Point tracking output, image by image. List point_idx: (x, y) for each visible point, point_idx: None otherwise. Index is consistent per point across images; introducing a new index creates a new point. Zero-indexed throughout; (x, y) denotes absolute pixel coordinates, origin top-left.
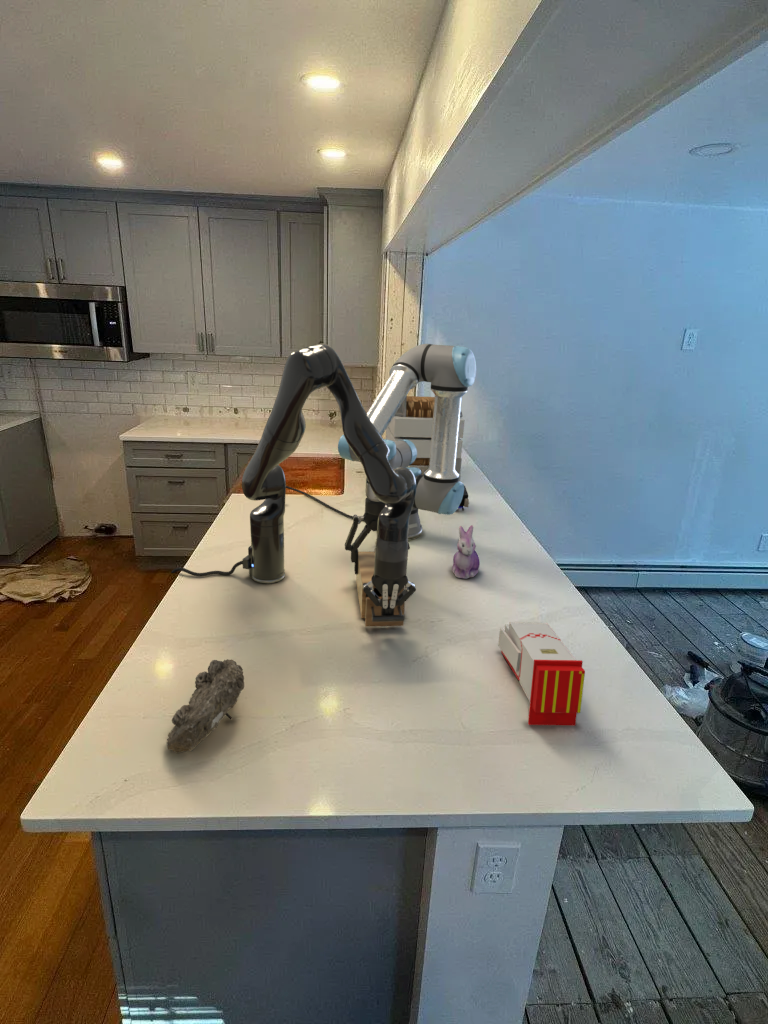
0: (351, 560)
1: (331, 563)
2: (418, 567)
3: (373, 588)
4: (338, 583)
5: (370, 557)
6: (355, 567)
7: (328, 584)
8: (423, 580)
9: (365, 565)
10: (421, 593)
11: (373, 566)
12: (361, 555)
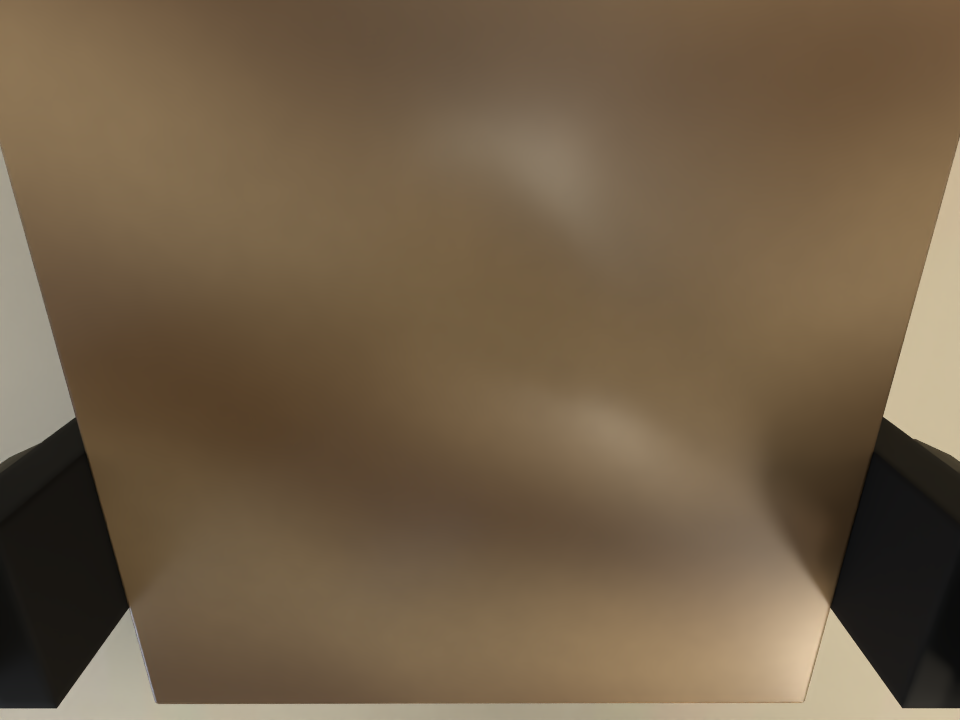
0: (945, 459)
1: (789, 715)
2: None
3: None
4: None
5: (614, 488)
6: None
7: (915, 388)
8: (16, 441)
9: (820, 84)
10: (6, 177)
11: (630, 10)
12: (771, 568)
